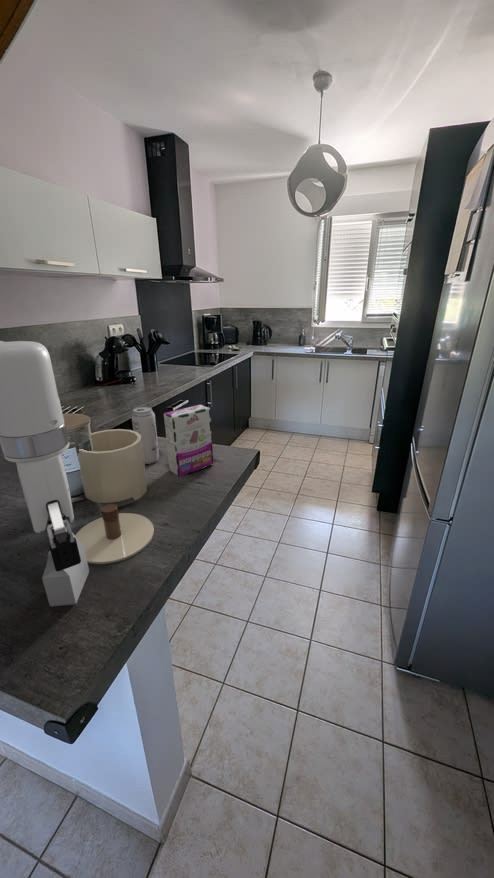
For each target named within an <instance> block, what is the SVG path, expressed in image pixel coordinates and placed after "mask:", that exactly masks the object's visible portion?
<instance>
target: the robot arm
mask: <svg viewBox="0 0 494 878" xmlns="http://www.w3.org/2000/svg"><path fill="white" fill-rule="evenodd" d="M0 446H1V450H2V453H3V457H4V459H5V460H6V461H8V462H11V463H15V464H16V470H17V473H18V478H19V482H20V485H21V490H22V492H23V496H24V500H25V503H26V507H27V511H28V514H29V517H30V518H29V519H30V521H31V525H32V528H33V532H34V533H36V534H40V533H41V532H44V531H46V534H47V536H48V540H49V546H48V548H49V551H50V552H51V555H52V559H53V563H54V566H55V570H56V571H61V570H64V569H66V568H69V567H72V566H75V565H77V564H80V563H81V558H80V554H79V550H78V546H77V542H76V538H74V537H73V534H74V532H73V531H72V526H71V524H72V523H73V521H74V520H75V516H74V508H73V502H72V496H71V491H70V486H69V480H68V476H67V471H66V467H65V463H64V458H63V453H64V452H66V451H67V450H68V449H69V448H70V441H69V436H68V432H67V427H66V422H65V418H64V414H63V410H62V405H61V400H60V396H59V392H58V387H57V383H56V378H55V374H54V369H53V364H52V360H51V356H50V353H49V351H48V348H46V346H45V345H44V344H42V343H40V342H38V341H37V342H36V341H33V340H32V341H31V340H14V341H3V340H0ZM65 527H66V529H67V532H66V530H65ZM72 532H73V533H72Z"/></svg>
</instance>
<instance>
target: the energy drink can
mask: <svg viewBox="0 0 494 878" xmlns="http://www.w3.org/2000/svg"><path fill="white" fill-rule="evenodd" d="M131 424H132V431H135V432H138V433H139V434H140V435H141V437H142V446H143V454H144V462H145V464H149V465H151V464H150V463H153V462H155V461H157V462H158V460H159V458H160V453H159V452H160V451H159V441H158V432H157V421H156V414H155V412H154V411H153V408H152V407H150V406H139V407H135V408H134V409H132V414H131ZM155 463H156V462H155ZM153 464H154V463H153Z"/></svg>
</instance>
